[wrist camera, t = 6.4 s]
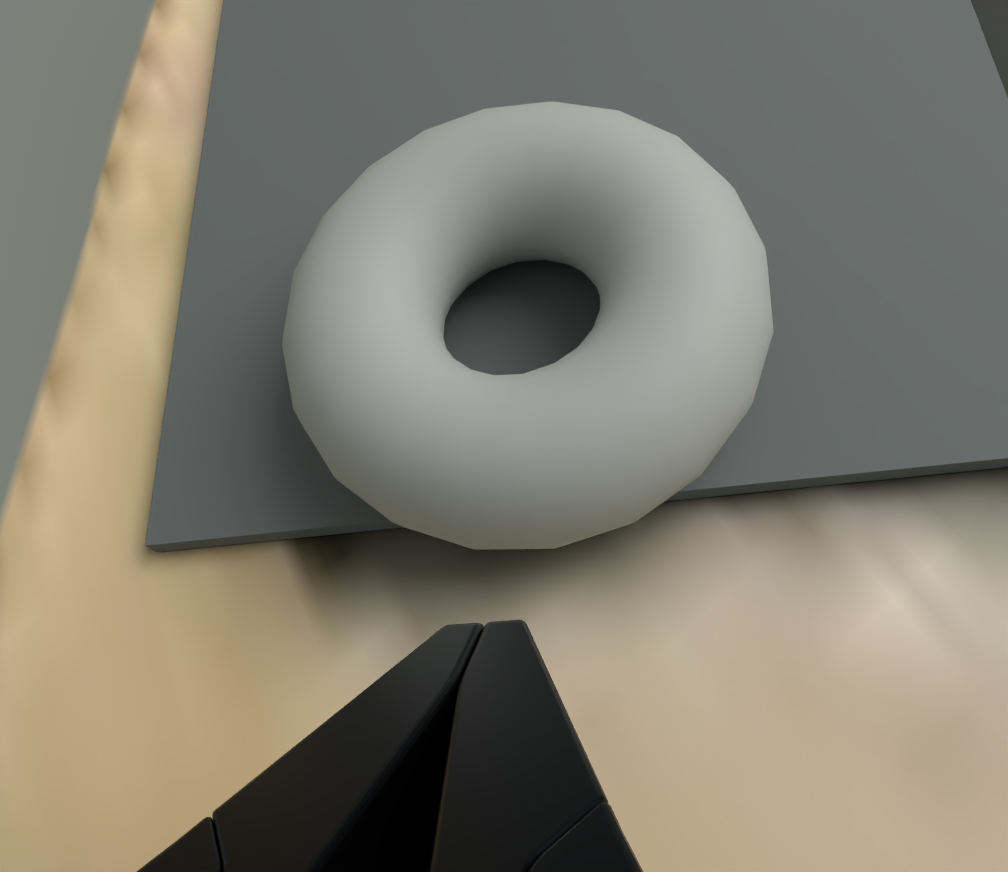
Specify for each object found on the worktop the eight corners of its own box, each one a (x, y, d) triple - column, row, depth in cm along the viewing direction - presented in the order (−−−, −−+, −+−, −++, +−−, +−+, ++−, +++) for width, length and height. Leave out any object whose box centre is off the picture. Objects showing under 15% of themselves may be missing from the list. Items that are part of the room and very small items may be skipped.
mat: (1127, 455, 16) (1139, 444, 16) (157, 552, 19) (144, 545, 19) (889, -184, 25) (893, -203, 24) (239, -45, 28) (231, -59, 27)
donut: (243, 558, 15) (257, 126, 19) (322, 609, 18) (318, 226, 22) (854, 455, 13) (715, 17, 18) (823, 528, 16) (711, 139, 21)
